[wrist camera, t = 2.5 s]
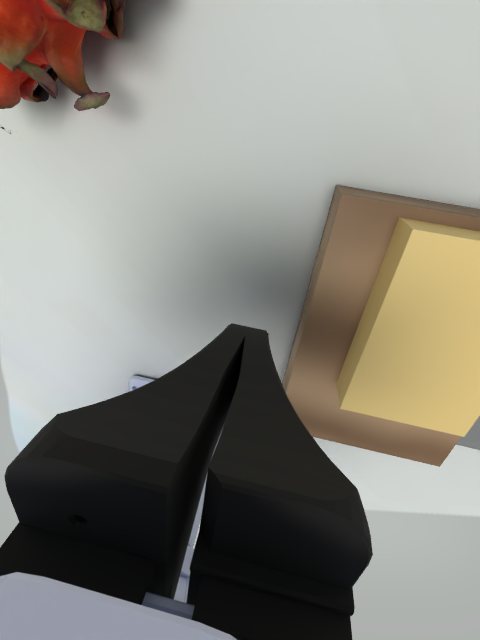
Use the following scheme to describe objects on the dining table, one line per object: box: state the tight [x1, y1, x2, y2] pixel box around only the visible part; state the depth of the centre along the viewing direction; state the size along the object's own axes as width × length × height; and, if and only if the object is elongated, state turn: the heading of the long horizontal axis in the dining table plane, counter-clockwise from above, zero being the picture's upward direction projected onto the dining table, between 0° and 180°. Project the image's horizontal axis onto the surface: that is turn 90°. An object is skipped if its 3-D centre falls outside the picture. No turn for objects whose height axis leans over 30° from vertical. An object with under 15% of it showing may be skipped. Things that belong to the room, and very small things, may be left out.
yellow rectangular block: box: [337, 217, 480, 437], centre depth 15 cm, size 9×6×2 cm, turn 172°
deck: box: [282, 185, 480, 467], centre depth 18 cm, size 14×10×3 cm
